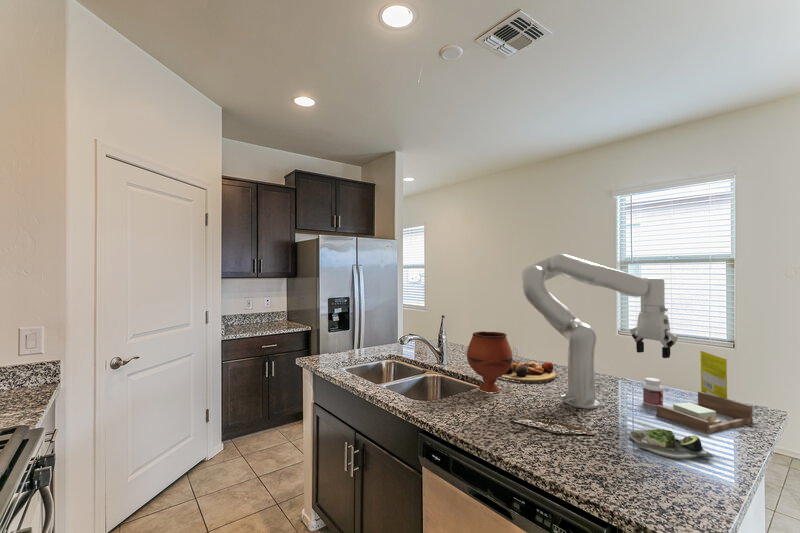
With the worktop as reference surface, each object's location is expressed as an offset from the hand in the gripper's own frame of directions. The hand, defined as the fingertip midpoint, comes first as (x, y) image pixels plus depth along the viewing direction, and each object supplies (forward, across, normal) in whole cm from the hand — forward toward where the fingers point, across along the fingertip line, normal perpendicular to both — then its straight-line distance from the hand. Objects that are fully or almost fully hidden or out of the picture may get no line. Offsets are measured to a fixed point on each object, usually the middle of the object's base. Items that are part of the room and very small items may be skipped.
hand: (652, 354), depth 137 cm
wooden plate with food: (+21, +56, +15) cm, 61 cm away
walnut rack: (+20, -15, -3) cm, 25 cm away
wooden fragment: (+21, +1, +49) cm, 53 cm away
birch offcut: (+19, -15, +2) cm, 24 cm away
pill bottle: (+20, 0, 0) cm, 21 cm away
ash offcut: (+17, -15, +2) cm, 23 cm away
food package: (+20, -7, -23) cm, 32 cm away
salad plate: (+21, -22, +26) cm, 40 cm away
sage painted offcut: (+16, -15, +2) cm, 22 cm away
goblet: (+21, +39, +46) cm, 64 cm away
